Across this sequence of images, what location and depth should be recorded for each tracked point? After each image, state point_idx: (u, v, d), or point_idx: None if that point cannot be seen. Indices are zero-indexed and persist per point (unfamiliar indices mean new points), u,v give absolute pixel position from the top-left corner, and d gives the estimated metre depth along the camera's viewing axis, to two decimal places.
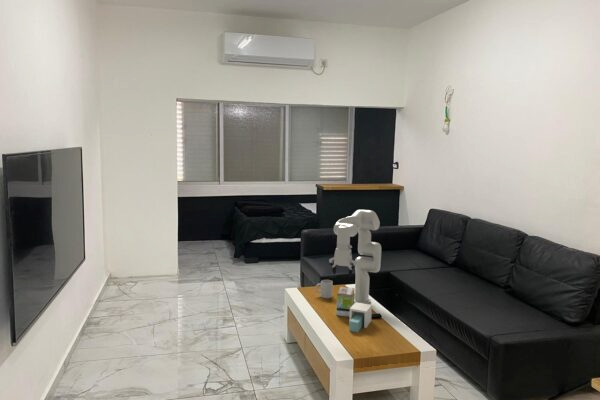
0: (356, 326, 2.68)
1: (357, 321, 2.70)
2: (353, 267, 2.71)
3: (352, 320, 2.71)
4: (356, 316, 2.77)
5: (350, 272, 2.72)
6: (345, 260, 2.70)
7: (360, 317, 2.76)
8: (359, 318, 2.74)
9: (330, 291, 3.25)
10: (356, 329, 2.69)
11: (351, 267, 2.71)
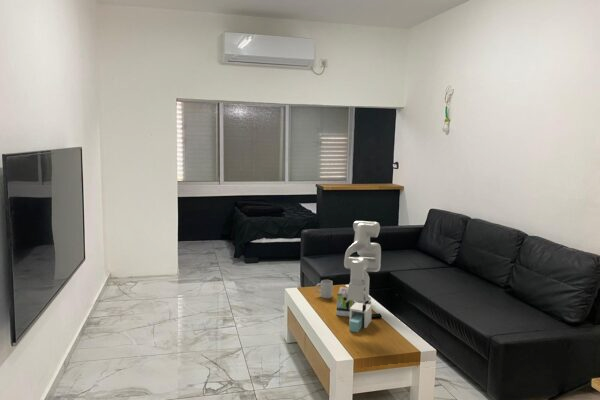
0: (356, 326, 2.68)
1: (357, 321, 2.70)
2: (367, 302, 2.66)
3: (352, 320, 2.71)
4: (356, 316, 2.77)
5: (364, 307, 2.67)
6: (359, 295, 2.66)
7: (360, 317, 2.76)
8: (359, 318, 2.74)
9: (330, 291, 3.25)
10: (356, 329, 2.69)
11: (365, 302, 2.66)
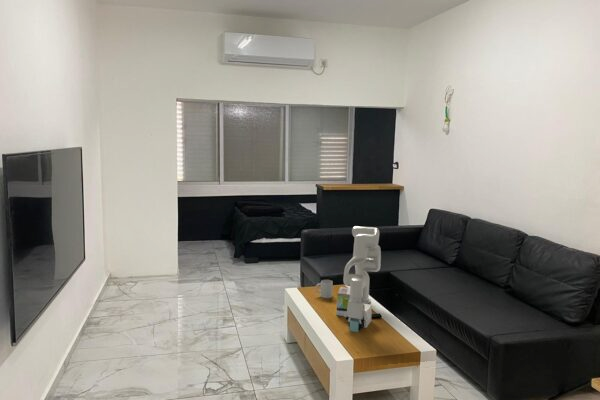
0: (356, 326, 2.68)
1: (357, 321, 2.70)
2: (363, 321, 2.69)
3: (352, 320, 2.71)
4: None
5: (360, 326, 2.70)
6: (358, 313, 2.68)
7: None
8: None
9: (330, 291, 3.25)
10: (356, 329, 2.69)
11: (361, 321, 2.69)
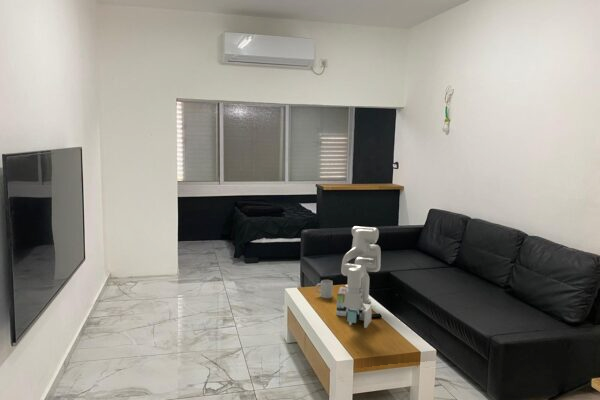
0: (354, 316, 2.63)
1: (355, 311, 2.64)
2: (361, 312, 2.63)
3: (350, 310, 2.66)
4: None
5: (358, 316, 2.65)
6: (356, 303, 2.62)
7: None
8: None
9: (330, 291, 3.25)
10: (354, 319, 2.63)
11: (359, 312, 2.64)
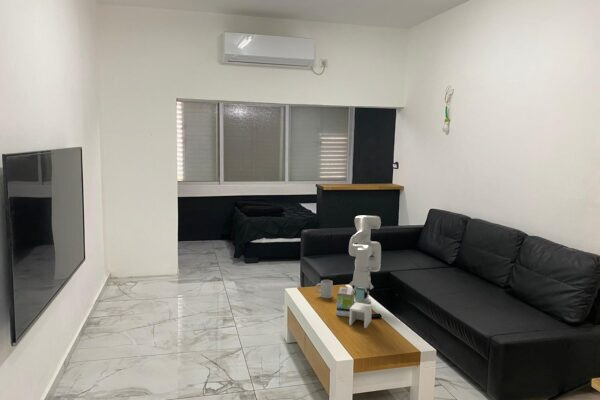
0: (362, 294, 2.76)
1: (363, 289, 2.77)
2: (368, 290, 2.76)
3: (358, 288, 2.78)
4: None
5: None
6: (364, 282, 2.75)
7: None
8: None
9: (330, 291, 3.25)
10: (362, 297, 2.76)
11: (367, 290, 2.76)
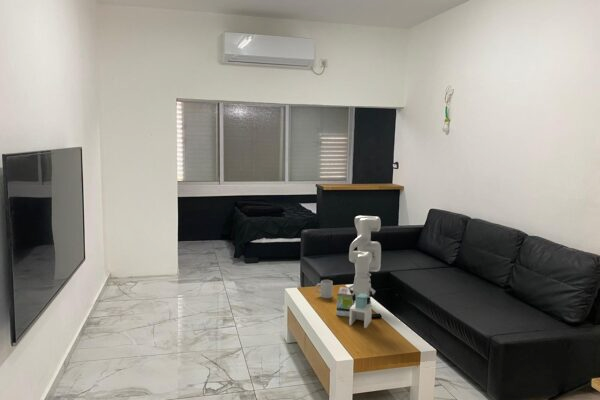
0: (362, 302, 2.77)
1: (363, 298, 2.78)
2: (371, 295, 2.76)
3: (358, 297, 2.80)
4: (362, 294, 2.86)
5: (368, 300, 2.77)
6: (364, 288, 2.76)
7: None
8: (365, 295, 2.83)
9: (330, 291, 3.25)
10: (362, 305, 2.77)
11: (369, 295, 2.77)
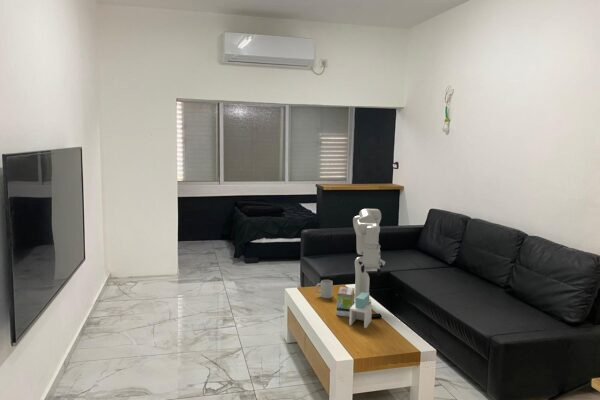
0: (362, 302, 2.77)
1: (363, 298, 2.78)
2: (381, 266, 2.76)
3: (358, 297, 2.80)
4: (362, 294, 2.86)
5: None
6: (374, 259, 2.76)
7: (366, 294, 2.84)
8: (365, 295, 2.83)
9: (330, 291, 3.25)
10: (362, 305, 2.77)
11: (379, 266, 2.76)
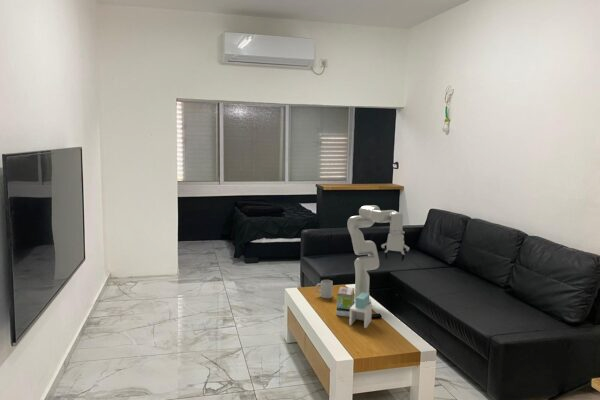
0: (362, 302, 2.77)
1: (363, 298, 2.78)
2: (406, 252, 2.80)
3: (358, 297, 2.80)
4: (362, 294, 2.86)
5: None
6: (398, 245, 2.80)
7: (366, 294, 2.84)
8: (365, 295, 2.83)
9: (330, 291, 3.25)
10: (362, 305, 2.77)
11: (404, 252, 2.81)
